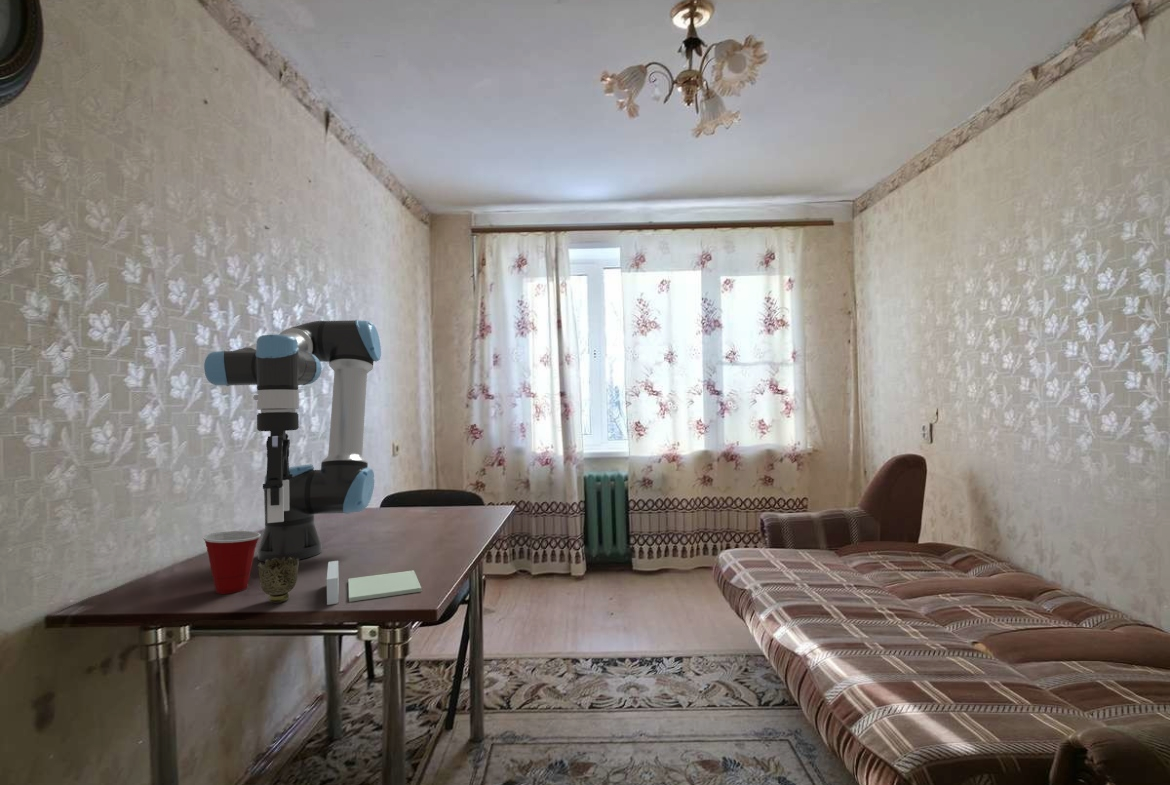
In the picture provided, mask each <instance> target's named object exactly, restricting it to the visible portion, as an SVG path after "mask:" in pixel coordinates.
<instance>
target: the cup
mask: <svg viewBox="0 0 1170 785" xmlns="http://www.w3.org/2000/svg"><path fill="white" fill-rule="evenodd" d="M299 563H300V559H299V560H298V558H297V560H295V558H294V557H293V558H291V557H289V558H288V559H287V560H286V561H285V557H283V558H282V559H281V561H280V560H279V559H278V558H273V559H272V560H271V561H270V560H268V559H267V560H266V561H265V562H264V564H262V563H261V562H258V564H257V569H258V576H259V583H260V587H261V590H262V592H263V593H265V594H266V595H268V596H269V597H268V600H269V602H270V603H273V604H280V603H283V602H286V601H287V600H288V599H290V592H291V591H293V590H294V588H295V586H296V585H297V581H298V574H299Z"/></svg>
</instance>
